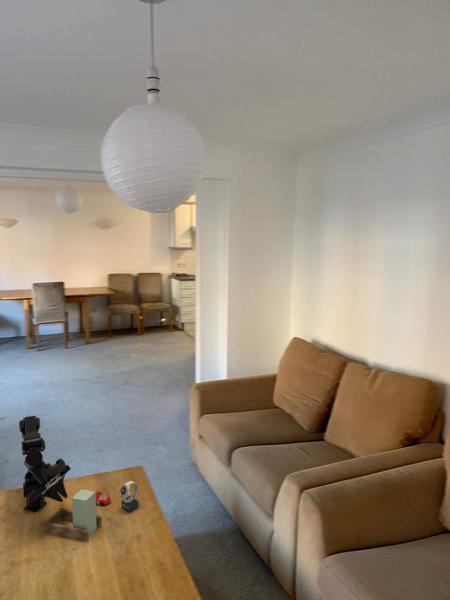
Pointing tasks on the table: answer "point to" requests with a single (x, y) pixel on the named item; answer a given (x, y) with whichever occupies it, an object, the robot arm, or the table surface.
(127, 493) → the watch
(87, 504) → the block
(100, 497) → the race car
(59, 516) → the brown rectangular frame
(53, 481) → the robot arm
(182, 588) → the table surface
